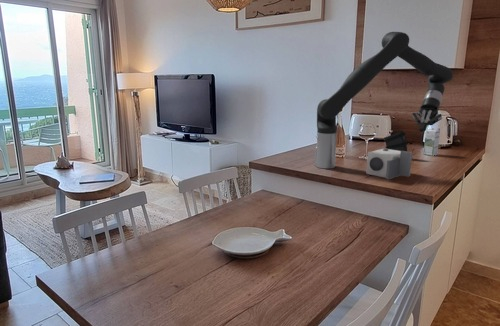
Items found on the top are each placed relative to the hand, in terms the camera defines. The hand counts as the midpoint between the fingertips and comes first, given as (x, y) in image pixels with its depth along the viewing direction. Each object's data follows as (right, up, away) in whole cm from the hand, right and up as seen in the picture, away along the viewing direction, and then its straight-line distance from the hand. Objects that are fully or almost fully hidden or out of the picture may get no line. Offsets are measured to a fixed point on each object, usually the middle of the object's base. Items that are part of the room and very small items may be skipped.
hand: (421, 130), depth 156 cm
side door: (-15, -21, -9) cm, 27 cm away
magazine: (+3, -12, +37) cm, 38 cm away
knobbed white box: (-15, -19, +3) cm, 25 cm away
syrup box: (+26, -10, +43) cm, 51 cm away
